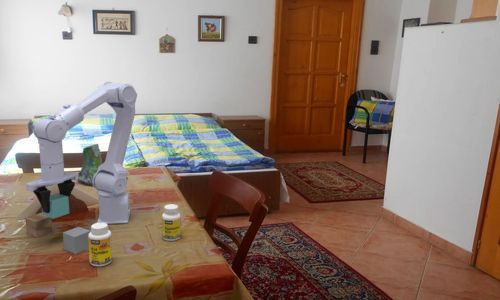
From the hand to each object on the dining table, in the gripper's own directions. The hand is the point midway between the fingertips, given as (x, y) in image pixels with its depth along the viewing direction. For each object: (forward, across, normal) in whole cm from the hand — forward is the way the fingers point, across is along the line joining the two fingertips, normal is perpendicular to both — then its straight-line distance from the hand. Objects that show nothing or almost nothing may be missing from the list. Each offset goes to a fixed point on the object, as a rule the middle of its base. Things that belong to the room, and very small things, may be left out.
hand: (55, 209), depth 119 cm
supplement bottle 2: (+10, -20, +25) cm, 34 cm away
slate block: (+10, 0, +9) cm, 13 cm away
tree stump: (+10, -45, -37) cm, 59 cm away
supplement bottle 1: (+10, +1, +20) cm, 23 cm away
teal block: (+1, 0, 0) cm, 1 cm away
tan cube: (+10, 0, -9) cm, 13 cm away
